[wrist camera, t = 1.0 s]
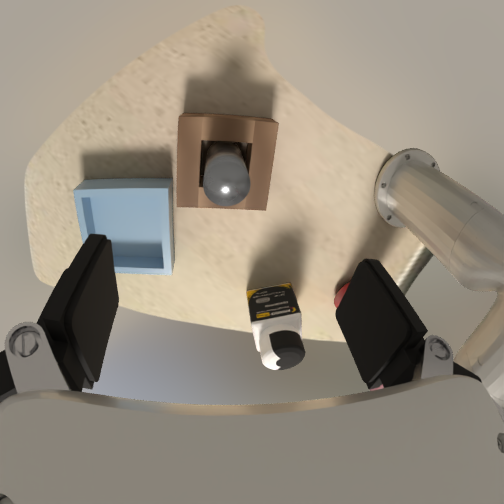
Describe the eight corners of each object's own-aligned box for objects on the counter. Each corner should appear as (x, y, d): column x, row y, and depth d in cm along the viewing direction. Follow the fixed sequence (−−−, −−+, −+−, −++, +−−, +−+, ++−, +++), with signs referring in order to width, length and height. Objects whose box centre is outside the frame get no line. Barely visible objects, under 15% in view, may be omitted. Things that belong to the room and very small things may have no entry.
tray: (172, 178, 32) (168, 188, 29) (174, 259, 38) (172, 275, 35) (84, 179, 30) (73, 190, 27) (97, 256, 36) (90, 271, 34)
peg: (242, 140, 30) (253, 163, 22) (239, 172, 32) (247, 207, 24) (207, 138, 30) (204, 161, 21) (205, 171, 32) (202, 205, 24)
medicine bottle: (290, 281, 43) (311, 341, 33) (292, 311, 47) (309, 369, 37) (245, 289, 43) (255, 352, 33) (252, 319, 47) (261, 379, 37)
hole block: (271, 118, 29) (278, 123, 26) (260, 196, 35) (265, 210, 31) (183, 113, 28) (178, 116, 24) (180, 193, 33) (176, 206, 30)
